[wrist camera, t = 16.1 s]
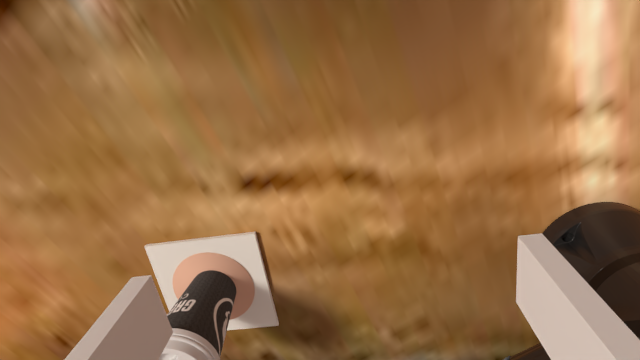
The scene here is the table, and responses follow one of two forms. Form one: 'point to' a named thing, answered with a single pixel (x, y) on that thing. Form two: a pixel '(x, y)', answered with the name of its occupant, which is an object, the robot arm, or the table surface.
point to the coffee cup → (201, 318)
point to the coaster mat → (224, 256)
